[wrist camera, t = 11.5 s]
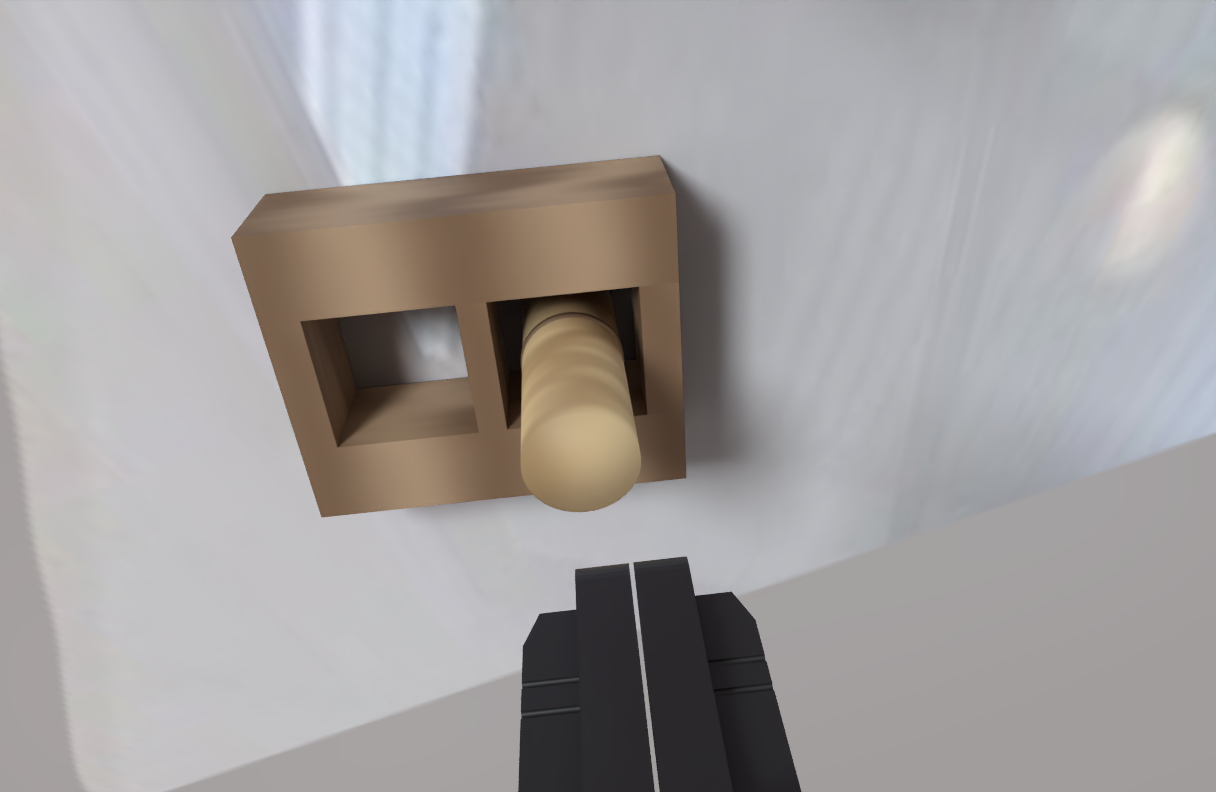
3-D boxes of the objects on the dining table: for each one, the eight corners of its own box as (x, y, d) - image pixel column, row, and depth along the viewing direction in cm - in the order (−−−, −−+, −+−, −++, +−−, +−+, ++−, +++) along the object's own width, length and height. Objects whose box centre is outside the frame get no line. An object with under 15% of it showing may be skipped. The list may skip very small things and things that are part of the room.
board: (659, 155, 30) (675, 193, 27) (671, 419, 36) (686, 477, 33) (265, 194, 30) (231, 237, 27) (341, 454, 36) (321, 517, 32)
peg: (610, 261, 32) (639, 406, 24) (617, 344, 34) (646, 506, 26) (515, 270, 32) (510, 419, 24) (527, 353, 34) (527, 519, 26)
